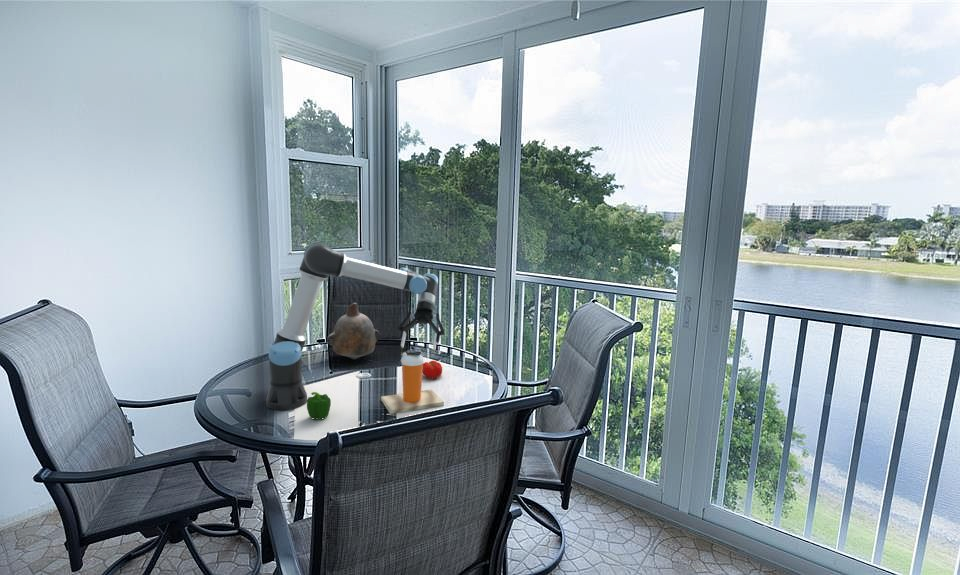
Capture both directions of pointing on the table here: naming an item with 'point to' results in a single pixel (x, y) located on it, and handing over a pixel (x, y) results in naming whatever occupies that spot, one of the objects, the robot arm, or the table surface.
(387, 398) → the oak board
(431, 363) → the tomato
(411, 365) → the shaker bottle
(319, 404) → the bell pepper
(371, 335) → the jug
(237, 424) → the table surface
